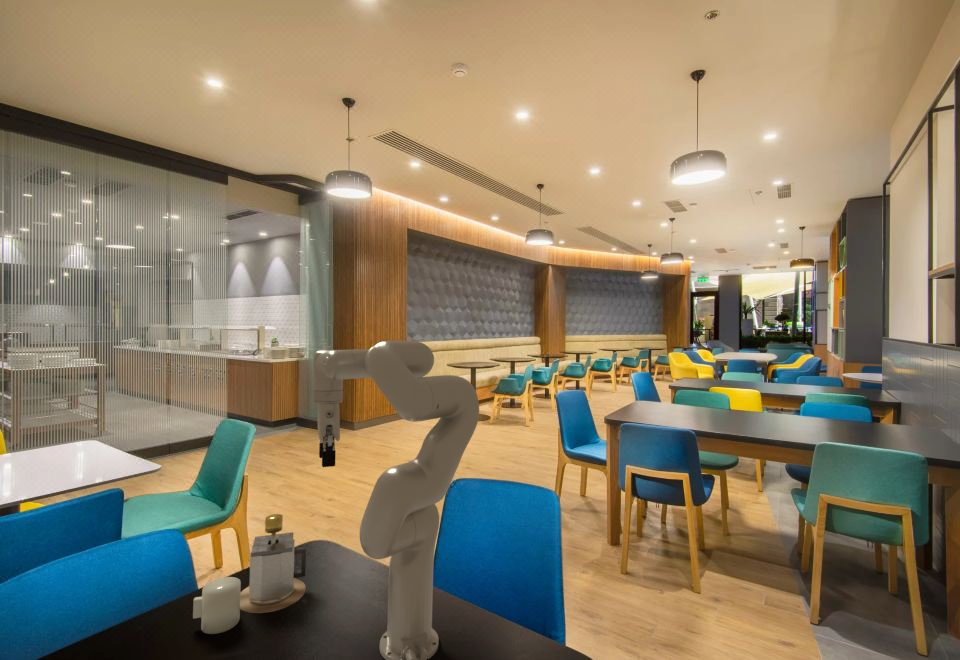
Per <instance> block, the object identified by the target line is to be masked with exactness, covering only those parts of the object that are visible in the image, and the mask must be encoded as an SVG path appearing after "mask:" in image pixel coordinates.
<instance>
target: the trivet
mask: <svg viewBox="0 0 960 660" xmlns="http://www.w3.org/2000/svg"><path fill="white" fill-rule="evenodd" d="M293 584H294V592H293V594H292V595H291V596H290V597H289V598H288V599H286V600H285V601H283V602H280V603H277V604H274V605H268V606H258V605H254V604H252V603H251V602H250V601H249V586H247V587H246V588H244V589H243V590H242V591H240V611H243V612H245V613H252V614H264V613H267V614H268V613H271V612H276V611H280V610H282V609H283V610H284V609H286V608H287V607H290V606H291V605H293V604H295V603H296V602H298V601H299V600H300V599H301V598H302V597H303V596H304V595H305V593H306V589H307V588H306V584H305V583H304V582H303V581H302V580H300V579H298V578H294V583H293Z"/></svg>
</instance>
